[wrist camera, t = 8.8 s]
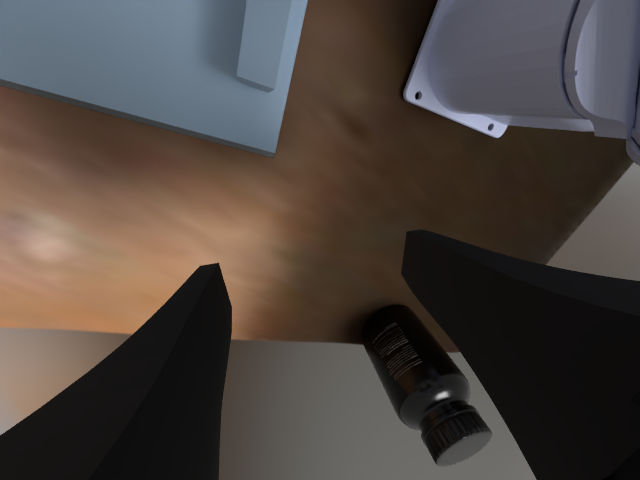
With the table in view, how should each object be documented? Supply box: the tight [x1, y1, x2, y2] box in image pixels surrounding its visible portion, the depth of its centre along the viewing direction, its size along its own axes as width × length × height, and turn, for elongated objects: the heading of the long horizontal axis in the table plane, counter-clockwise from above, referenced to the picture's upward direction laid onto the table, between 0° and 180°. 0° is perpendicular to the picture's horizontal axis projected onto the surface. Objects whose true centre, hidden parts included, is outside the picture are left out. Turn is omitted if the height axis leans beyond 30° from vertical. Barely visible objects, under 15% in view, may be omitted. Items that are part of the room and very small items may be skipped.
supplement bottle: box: [362, 307, 492, 467], centre depth 24 cm, size 7×7×12 cm
